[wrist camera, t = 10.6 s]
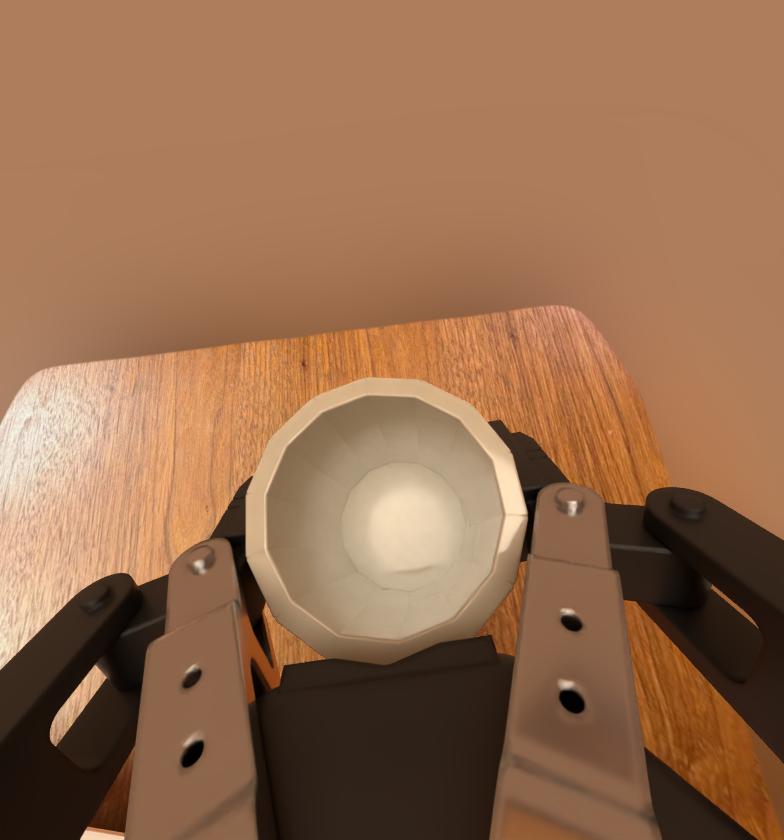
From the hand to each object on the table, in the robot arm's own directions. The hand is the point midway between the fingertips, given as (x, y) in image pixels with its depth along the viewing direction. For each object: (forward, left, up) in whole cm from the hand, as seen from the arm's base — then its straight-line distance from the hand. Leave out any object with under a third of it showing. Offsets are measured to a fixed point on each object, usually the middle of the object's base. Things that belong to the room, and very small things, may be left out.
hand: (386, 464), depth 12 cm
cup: (+1, +1, -4) cm, 5 cm away
